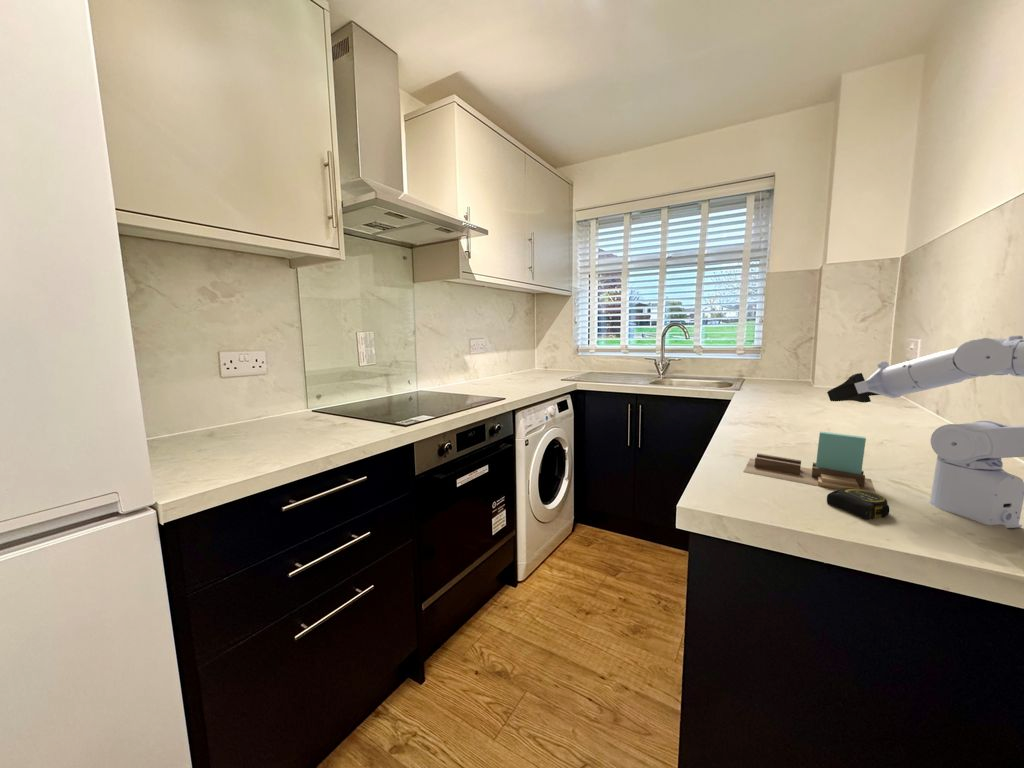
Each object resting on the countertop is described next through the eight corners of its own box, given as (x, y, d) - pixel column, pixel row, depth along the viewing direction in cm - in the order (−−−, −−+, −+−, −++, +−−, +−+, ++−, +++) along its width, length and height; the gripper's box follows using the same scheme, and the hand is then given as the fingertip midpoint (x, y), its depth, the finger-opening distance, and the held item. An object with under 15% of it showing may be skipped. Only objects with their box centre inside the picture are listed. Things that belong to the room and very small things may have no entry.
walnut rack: (876, 502, 73) (878, 486, 72) (742, 476, 85) (744, 462, 85) (870, 483, 82) (872, 469, 81) (749, 462, 94) (750, 449, 94)
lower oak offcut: (858, 493, 75) (859, 488, 74) (818, 485, 78) (818, 481, 78) (857, 487, 77) (858, 483, 77) (817, 480, 81) (818, 476, 80)
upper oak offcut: (857, 487, 75) (857, 483, 75) (821, 481, 78) (822, 477, 78) (854, 483, 77) (855, 479, 77) (820, 477, 80) (820, 473, 80)
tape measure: (822, 508, 71) (825, 488, 70) (854, 505, 72) (856, 484, 72) (864, 527, 64) (867, 505, 64) (897, 523, 66) (901, 501, 65)
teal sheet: (859, 484, 79) (865, 438, 78) (814, 476, 83) (819, 432, 82) (859, 481, 80) (865, 437, 79) (814, 473, 84) (819, 431, 83)
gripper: (935, 349, 76) (858, 372, 89) (885, 357, 72) (811, 379, 84) (952, 385, 75) (871, 403, 87) (901, 395, 70) (824, 413, 82)
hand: (842, 394), depth 86 cm, fingers open, 7 cm apart
